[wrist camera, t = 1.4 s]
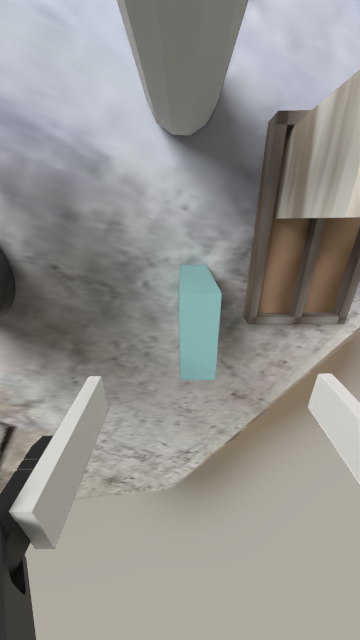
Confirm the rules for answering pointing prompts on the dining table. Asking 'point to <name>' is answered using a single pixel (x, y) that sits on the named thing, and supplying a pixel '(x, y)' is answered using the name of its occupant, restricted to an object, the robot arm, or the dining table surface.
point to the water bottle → (182, 55)
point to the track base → (308, 215)
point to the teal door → (198, 322)
